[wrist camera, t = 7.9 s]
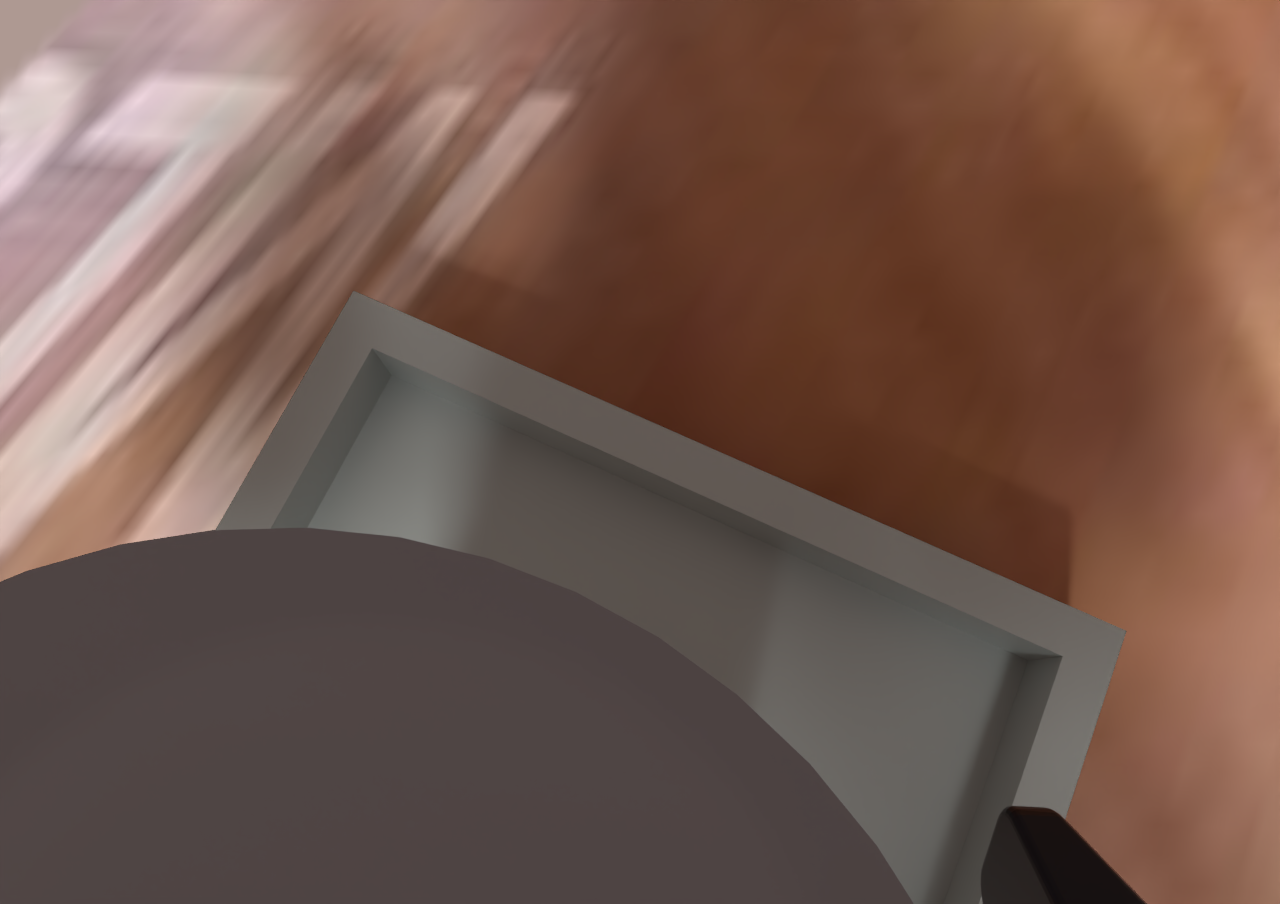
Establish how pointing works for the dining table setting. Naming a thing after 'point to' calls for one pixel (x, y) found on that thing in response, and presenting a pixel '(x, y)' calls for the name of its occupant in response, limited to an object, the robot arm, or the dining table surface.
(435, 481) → the tray
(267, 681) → the shaker
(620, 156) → the dining table surface
